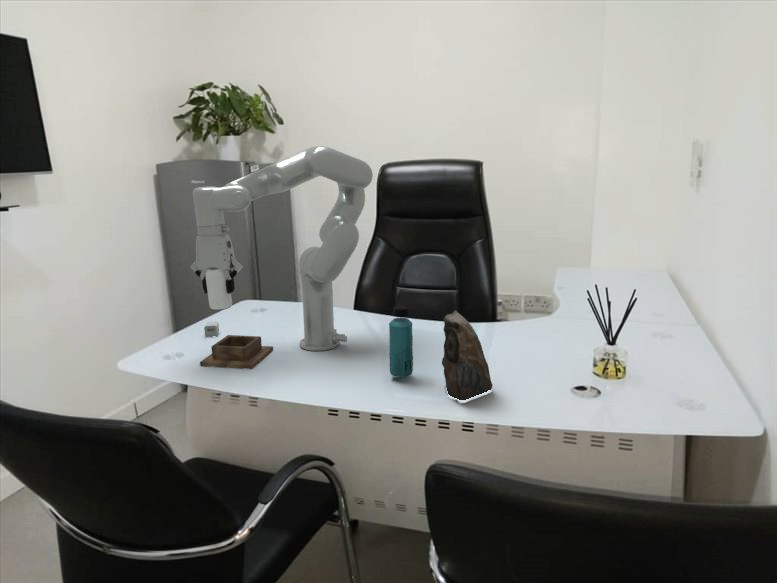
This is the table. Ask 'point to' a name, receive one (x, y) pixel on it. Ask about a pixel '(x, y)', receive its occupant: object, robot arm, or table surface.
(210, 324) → the usb wall charger
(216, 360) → the holder
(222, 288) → the can
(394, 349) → the beverage bottle
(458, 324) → the owl
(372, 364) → the table surface
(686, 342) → the table surface
